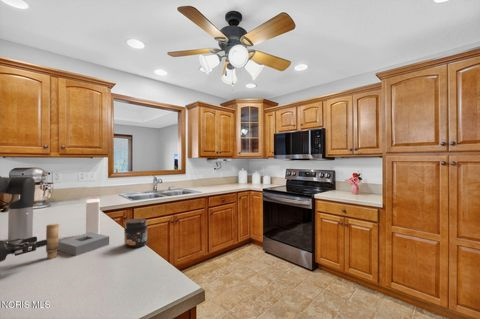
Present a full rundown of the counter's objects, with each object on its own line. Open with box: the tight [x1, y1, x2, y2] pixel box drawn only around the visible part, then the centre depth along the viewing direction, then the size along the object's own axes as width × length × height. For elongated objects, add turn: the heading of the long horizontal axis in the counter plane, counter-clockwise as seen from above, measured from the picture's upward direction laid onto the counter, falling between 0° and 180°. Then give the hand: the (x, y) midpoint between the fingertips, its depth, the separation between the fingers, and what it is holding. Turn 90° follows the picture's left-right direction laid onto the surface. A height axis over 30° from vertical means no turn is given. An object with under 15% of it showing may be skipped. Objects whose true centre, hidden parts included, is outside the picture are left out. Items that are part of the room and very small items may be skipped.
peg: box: [45, 223, 60, 260], centre depth 96 cm, size 4×4×14 cm
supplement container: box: [123, 218, 148, 249], centre depth 111 cm, size 10×10×12 cm
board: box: [57, 232, 110, 256], centre depth 108 cm, size 15×15×4 cm
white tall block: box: [85, 195, 101, 234], centre depth 126 cm, size 6×6×22 cm
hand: (41, 240), depth 93 cm, fingers open, 8 cm apart
